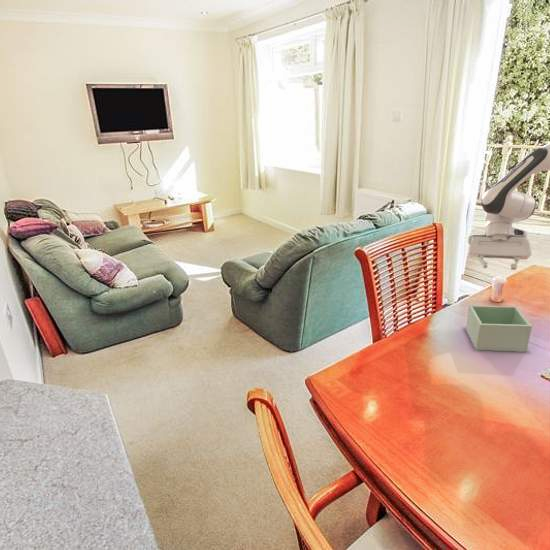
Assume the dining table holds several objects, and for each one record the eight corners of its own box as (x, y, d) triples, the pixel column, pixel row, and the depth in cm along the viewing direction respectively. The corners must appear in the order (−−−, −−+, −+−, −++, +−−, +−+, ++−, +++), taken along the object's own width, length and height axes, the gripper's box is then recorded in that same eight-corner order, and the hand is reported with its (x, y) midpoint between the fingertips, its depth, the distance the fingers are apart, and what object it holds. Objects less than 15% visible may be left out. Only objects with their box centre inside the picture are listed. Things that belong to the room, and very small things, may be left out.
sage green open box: (511, 330, 120) (516, 306, 116) (526, 351, 109) (532, 326, 106) (465, 328, 122) (469, 305, 119) (475, 349, 112) (479, 324, 109)
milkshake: (504, 304, 134) (508, 279, 130) (487, 300, 137) (491, 276, 133) (507, 299, 137) (512, 275, 133) (491, 296, 140) (495, 271, 136)
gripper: (469, 230, 143) (469, 263, 139) (532, 231, 136) (533, 266, 132) (466, 237, 149) (466, 269, 144) (526, 239, 142) (528, 273, 137)
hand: (499, 268), depth 138 cm, fingers open, 8 cm apart
